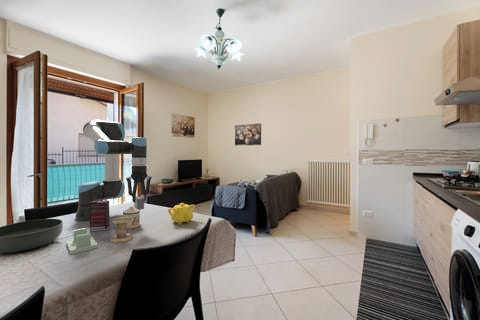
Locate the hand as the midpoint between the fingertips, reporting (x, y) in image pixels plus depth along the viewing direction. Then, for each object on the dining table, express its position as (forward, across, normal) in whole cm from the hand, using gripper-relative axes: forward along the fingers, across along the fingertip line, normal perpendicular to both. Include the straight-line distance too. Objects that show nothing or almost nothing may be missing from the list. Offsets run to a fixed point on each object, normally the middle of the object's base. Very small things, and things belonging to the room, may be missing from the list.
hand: (139, 207), depth 124 cm
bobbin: (+13, -11, -8) cm, 18 cm away
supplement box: (+13, -16, +16) cm, 26 cm away
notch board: (+13, -27, -4) cm, 30 cm away
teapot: (+13, +25, -4) cm, 29 cm away
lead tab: (+1, 0, 0) cm, 1 cm away
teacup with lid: (+13, 0, +10) cm, 17 cm away
